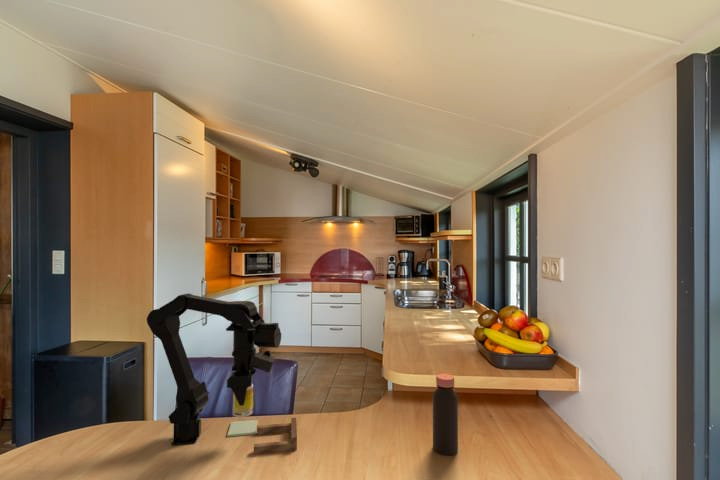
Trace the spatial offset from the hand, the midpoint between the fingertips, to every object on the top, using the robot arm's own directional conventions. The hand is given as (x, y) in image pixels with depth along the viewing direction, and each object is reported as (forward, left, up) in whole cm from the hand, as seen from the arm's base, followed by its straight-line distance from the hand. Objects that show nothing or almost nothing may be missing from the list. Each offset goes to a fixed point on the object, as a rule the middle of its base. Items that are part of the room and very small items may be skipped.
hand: (243, 400), depth 106 cm
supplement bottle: (0, 0, -4) cm, 4 cm away
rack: (+9, -1, -12) cm, 15 cm away
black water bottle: (+56, -14, -12) cm, 59 cm away
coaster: (-1, +8, -12) cm, 15 cm away
